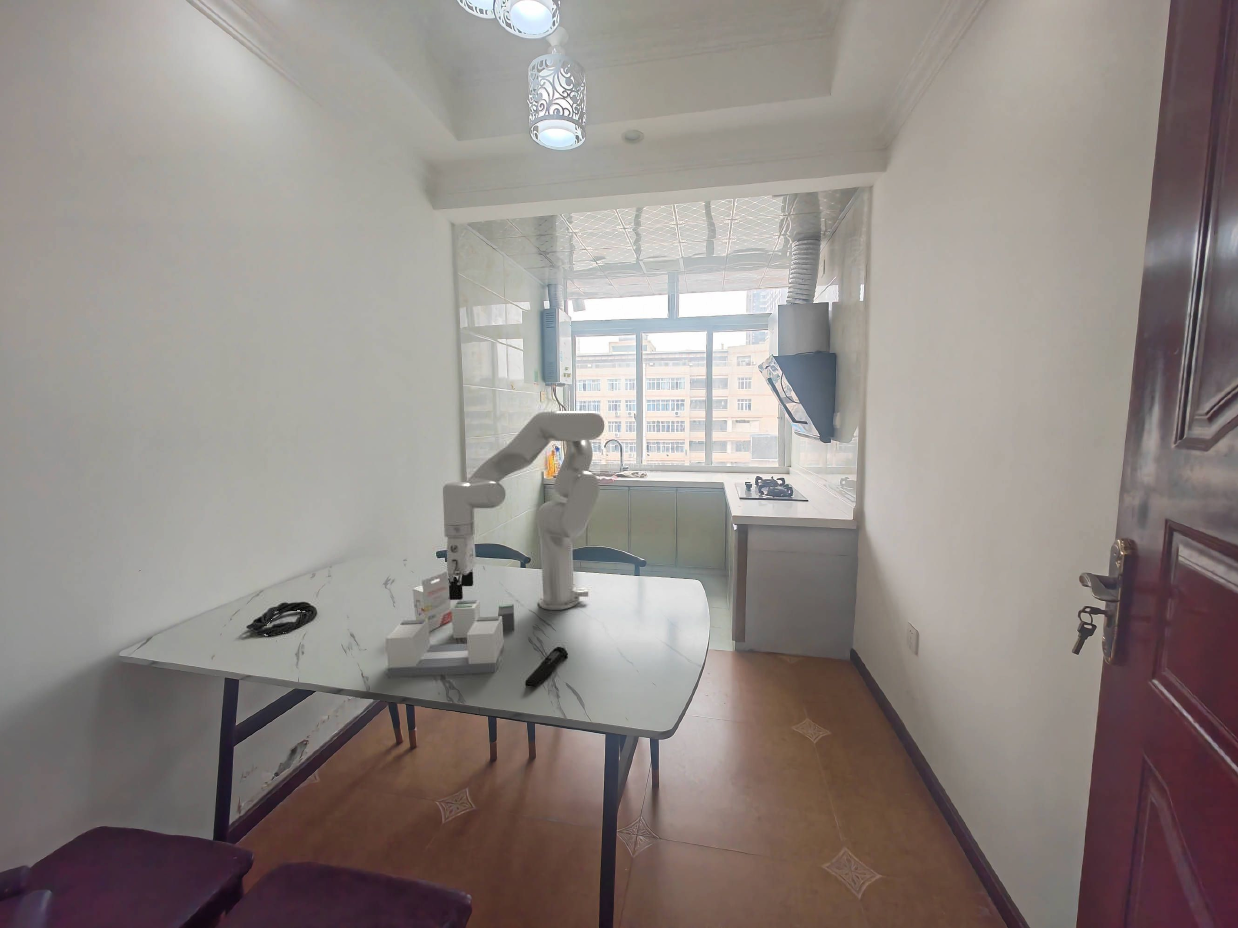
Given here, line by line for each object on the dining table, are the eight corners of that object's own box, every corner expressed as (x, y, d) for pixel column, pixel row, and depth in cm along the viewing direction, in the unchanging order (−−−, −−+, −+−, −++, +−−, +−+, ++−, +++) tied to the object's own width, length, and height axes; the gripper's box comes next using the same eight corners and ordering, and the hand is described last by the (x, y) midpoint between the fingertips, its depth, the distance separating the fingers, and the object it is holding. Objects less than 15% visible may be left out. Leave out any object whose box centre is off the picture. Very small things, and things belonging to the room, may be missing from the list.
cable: (294, 609, 144) (293, 595, 143) (333, 611, 141) (331, 598, 141) (240, 635, 127) (238, 620, 127) (283, 638, 124) (281, 623, 124)
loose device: (514, 620, 131) (513, 603, 130) (514, 630, 125) (513, 611, 124) (500, 622, 130) (498, 604, 129) (499, 632, 124) (498, 613, 124)
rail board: (504, 649, 115) (502, 614, 114) (495, 672, 105) (492, 633, 104) (406, 654, 114) (403, 618, 113) (388, 677, 104) (384, 638, 103)
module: (481, 628, 127) (479, 599, 126) (476, 637, 122) (474, 607, 121) (459, 629, 126) (457, 600, 126) (453, 638, 122) (451, 608, 121)
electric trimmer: (520, 691, 98) (519, 677, 97) (555, 654, 112) (555, 642, 112) (535, 695, 96) (534, 681, 96) (569, 657, 111) (569, 644, 110)
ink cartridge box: (441, 616, 135) (437, 568, 133) (452, 620, 132) (449, 571, 130) (415, 628, 127) (410, 577, 126) (426, 633, 125) (422, 580, 123)
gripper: (464, 537, 112) (466, 605, 114) (482, 522, 130) (484, 581, 131) (433, 537, 112) (436, 605, 114) (455, 522, 129) (457, 581, 131)
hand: (461, 592), depth 122 cm, fingers open, 9 cm apart
